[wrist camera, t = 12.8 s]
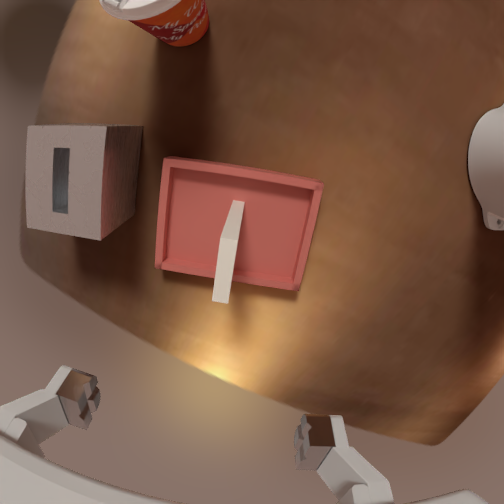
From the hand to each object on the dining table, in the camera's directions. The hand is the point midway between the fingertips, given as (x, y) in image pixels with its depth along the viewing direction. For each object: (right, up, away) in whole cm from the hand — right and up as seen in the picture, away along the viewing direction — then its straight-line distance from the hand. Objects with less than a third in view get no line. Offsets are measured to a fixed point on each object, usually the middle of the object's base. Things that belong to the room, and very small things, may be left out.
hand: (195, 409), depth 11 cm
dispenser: (-15, +16, +22) cm, 30 cm away
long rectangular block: (0, +9, +23) cm, 25 cm away
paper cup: (-5, +30, +16) cm, 35 cm away
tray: (0, +9, +24) cm, 26 cm away
